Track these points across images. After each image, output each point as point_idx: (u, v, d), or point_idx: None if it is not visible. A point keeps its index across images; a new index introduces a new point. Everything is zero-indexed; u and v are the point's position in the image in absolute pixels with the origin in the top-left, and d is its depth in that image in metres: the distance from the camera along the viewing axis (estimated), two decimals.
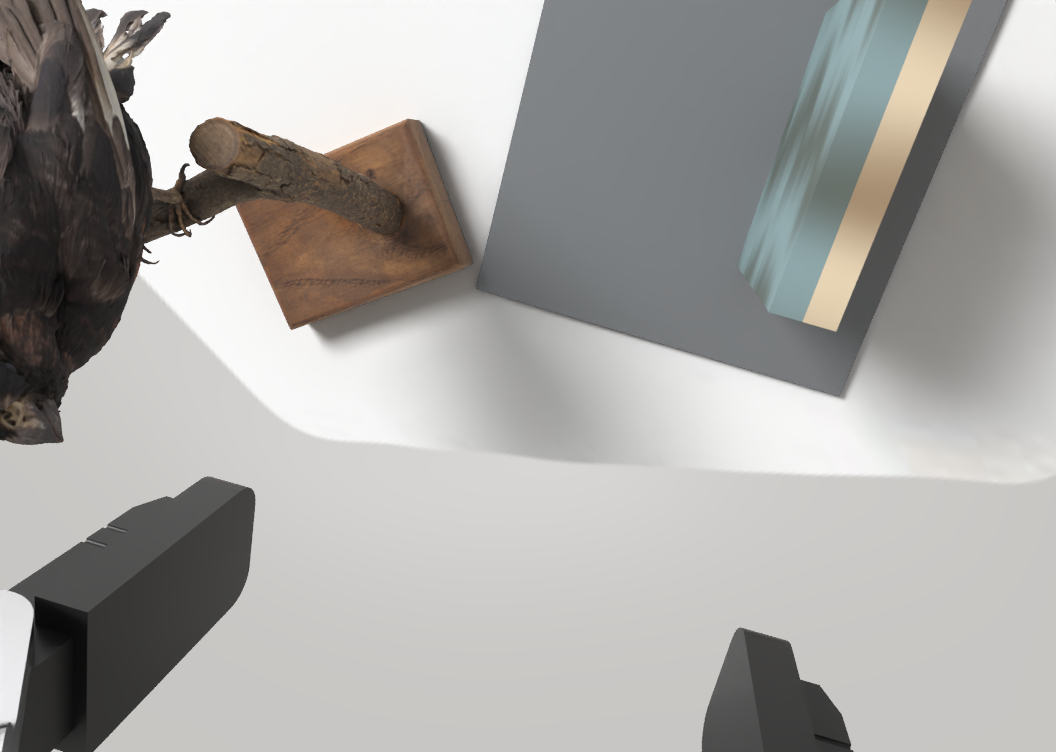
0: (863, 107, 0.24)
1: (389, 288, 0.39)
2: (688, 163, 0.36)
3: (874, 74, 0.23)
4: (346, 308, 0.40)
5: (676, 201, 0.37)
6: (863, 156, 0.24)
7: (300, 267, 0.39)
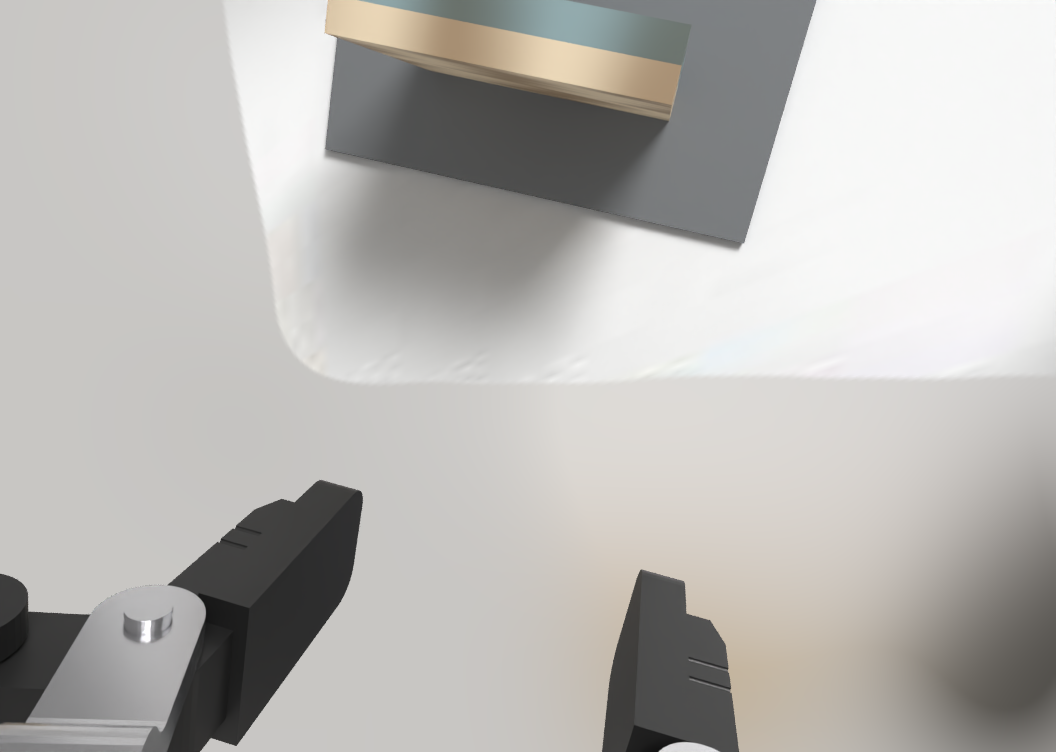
0: (538, 13, 0.24)
1: None
2: None
3: (569, 17, 0.23)
4: None
5: None
6: (493, 23, 0.24)
7: None
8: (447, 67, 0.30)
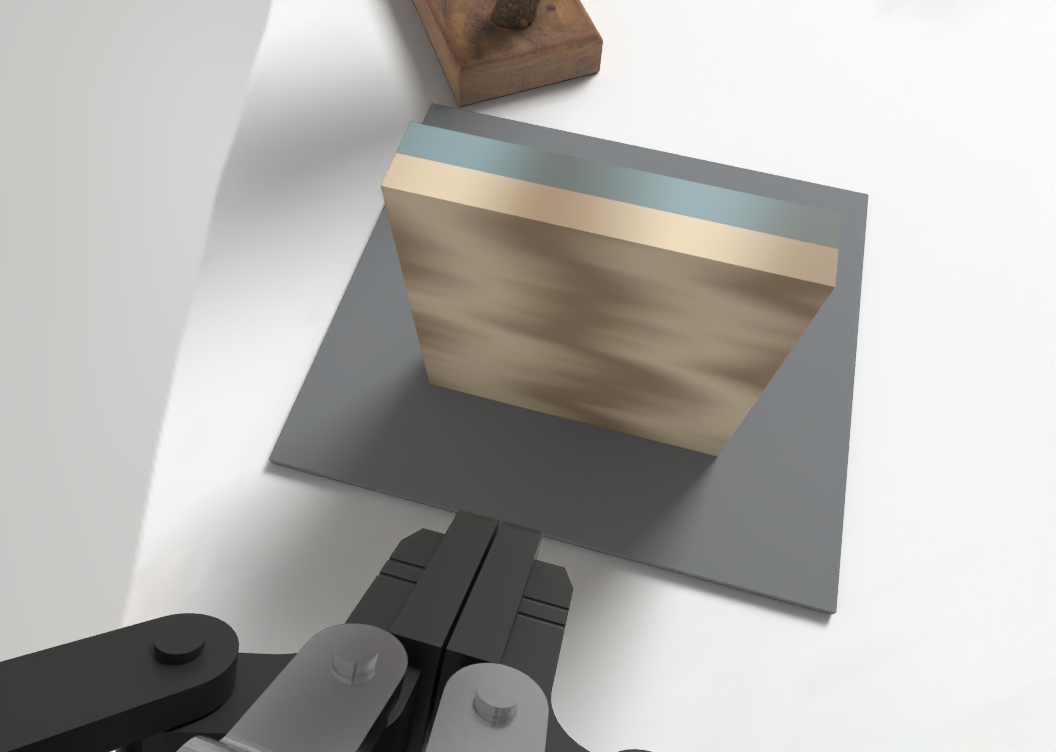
0: (657, 189, 0.20)
1: (437, 15, 0.38)
2: None
3: (695, 196, 0.19)
4: None
5: None
6: (601, 194, 0.19)
7: None
8: (487, 318, 0.24)
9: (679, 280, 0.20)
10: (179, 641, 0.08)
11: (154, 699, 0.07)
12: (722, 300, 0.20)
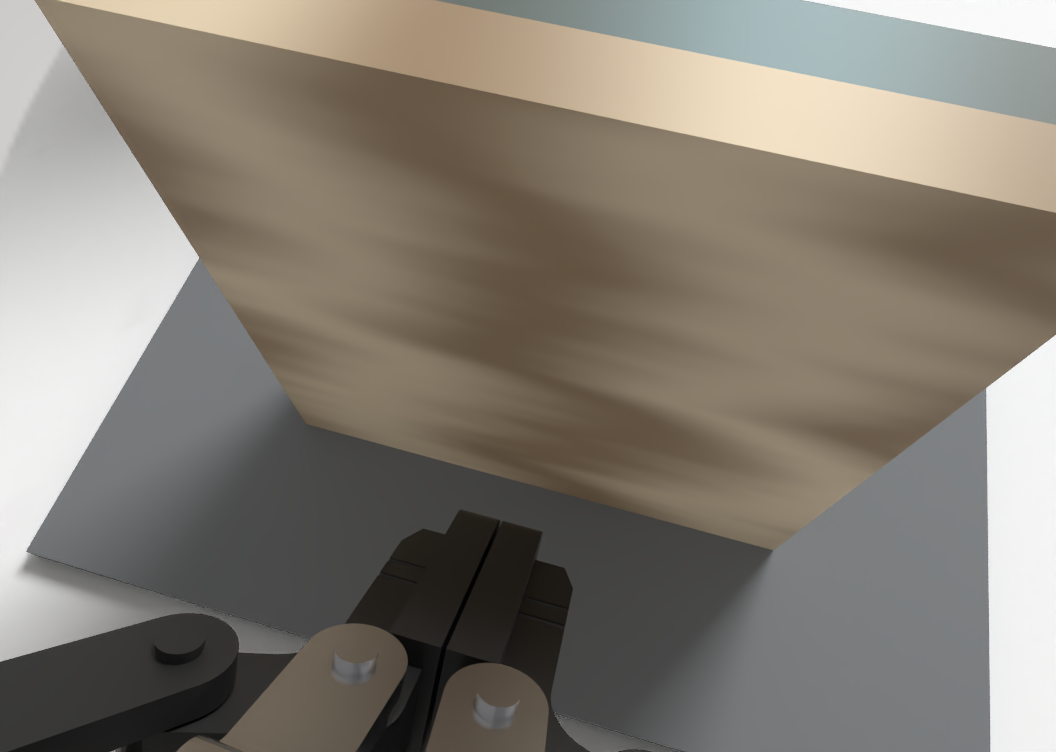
0: (698, 10, 0.08)
1: None
2: None
3: (789, 25, 0.08)
4: None
5: None
6: (563, 18, 0.08)
7: None
8: (360, 319, 0.13)
9: (749, 230, 0.08)
10: (179, 642, 0.08)
11: (154, 699, 0.07)
12: (847, 279, 0.09)
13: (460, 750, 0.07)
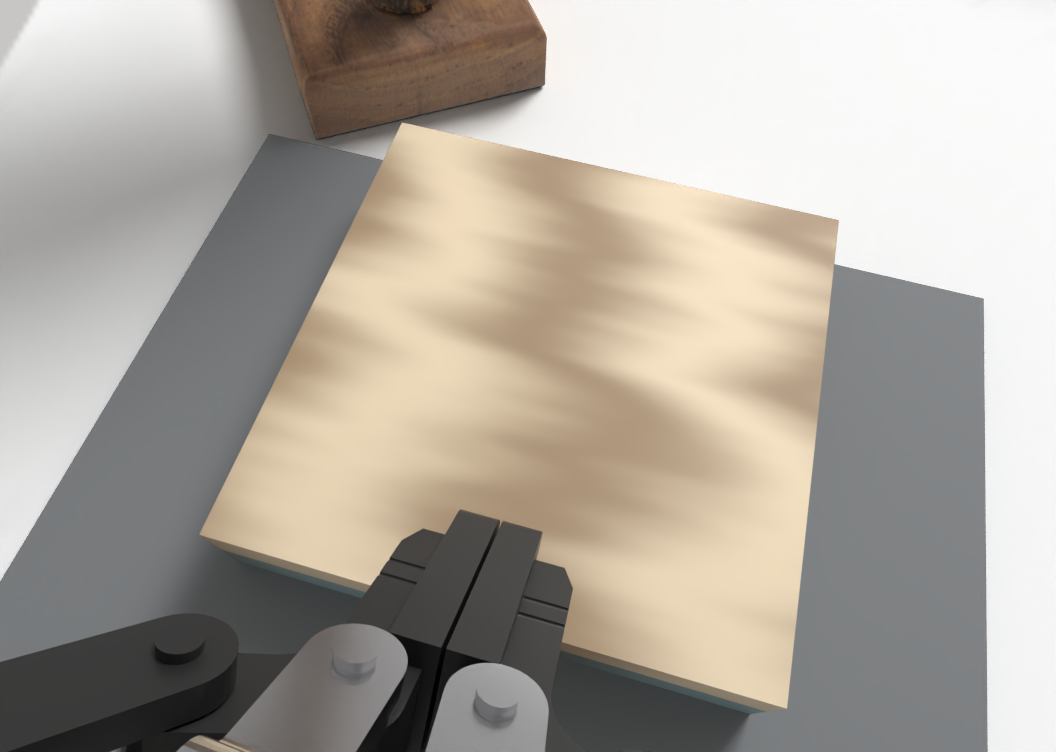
0: None
1: None
2: None
3: None
4: None
5: None
6: None
7: None
8: (429, 311, 0.17)
9: (690, 222, 0.19)
10: (179, 642, 0.08)
11: (154, 699, 0.07)
12: (737, 247, 0.19)
13: (460, 750, 0.07)
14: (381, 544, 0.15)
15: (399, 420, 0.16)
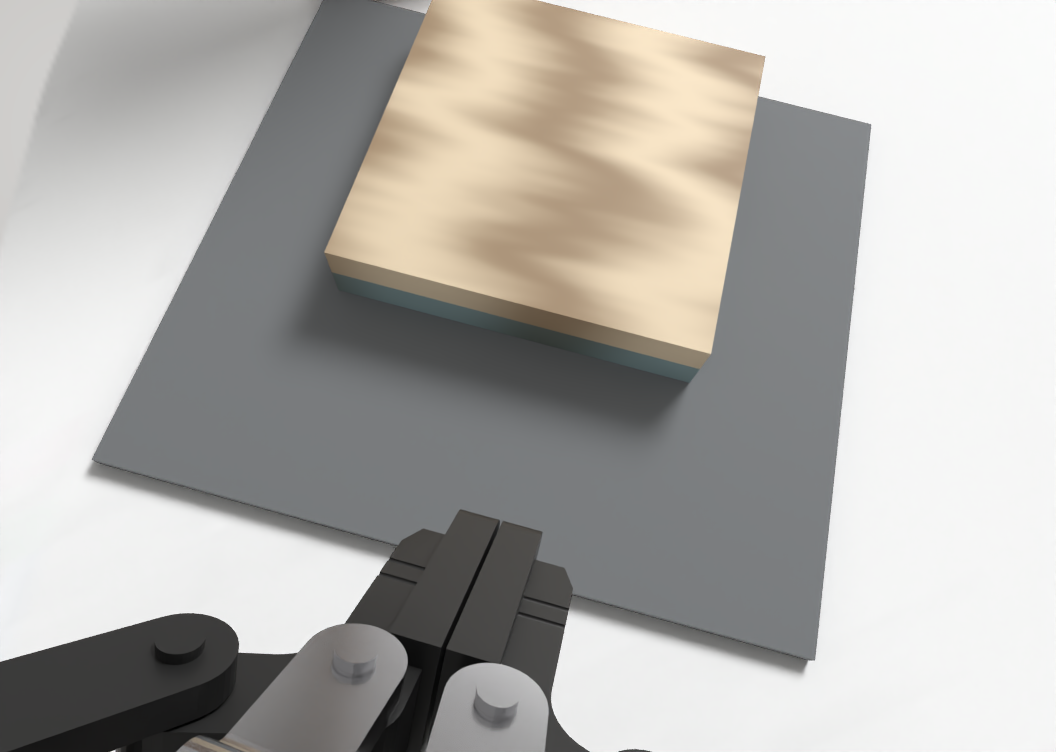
0: None
1: None
2: None
3: None
4: None
5: None
6: None
7: None
8: (471, 113, 0.24)
9: (658, 55, 0.26)
10: (179, 642, 0.08)
11: (154, 699, 0.07)
12: (691, 74, 0.26)
13: (460, 750, 0.07)
14: (447, 259, 0.22)
15: (454, 184, 0.23)
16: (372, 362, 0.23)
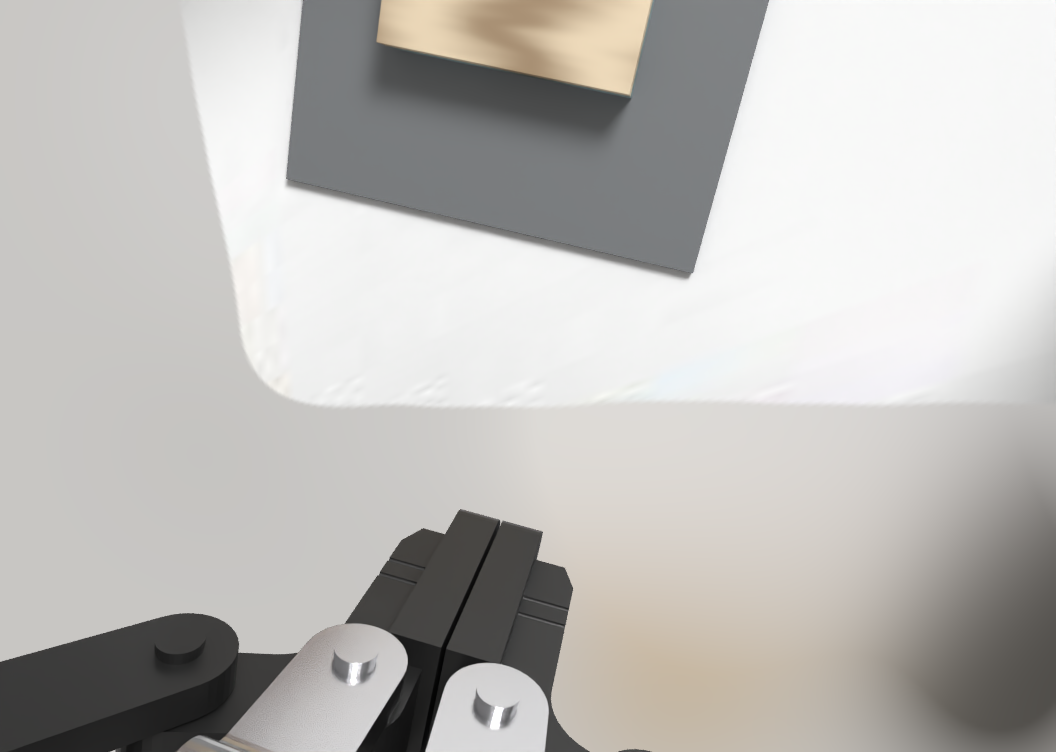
0: None
1: None
2: None
3: None
4: None
5: None
6: None
7: None
8: None
9: None
10: (179, 642, 0.08)
11: (154, 699, 0.07)
12: None
13: (460, 750, 0.07)
14: (454, 38, 0.33)
15: None
16: (424, 102, 0.37)
